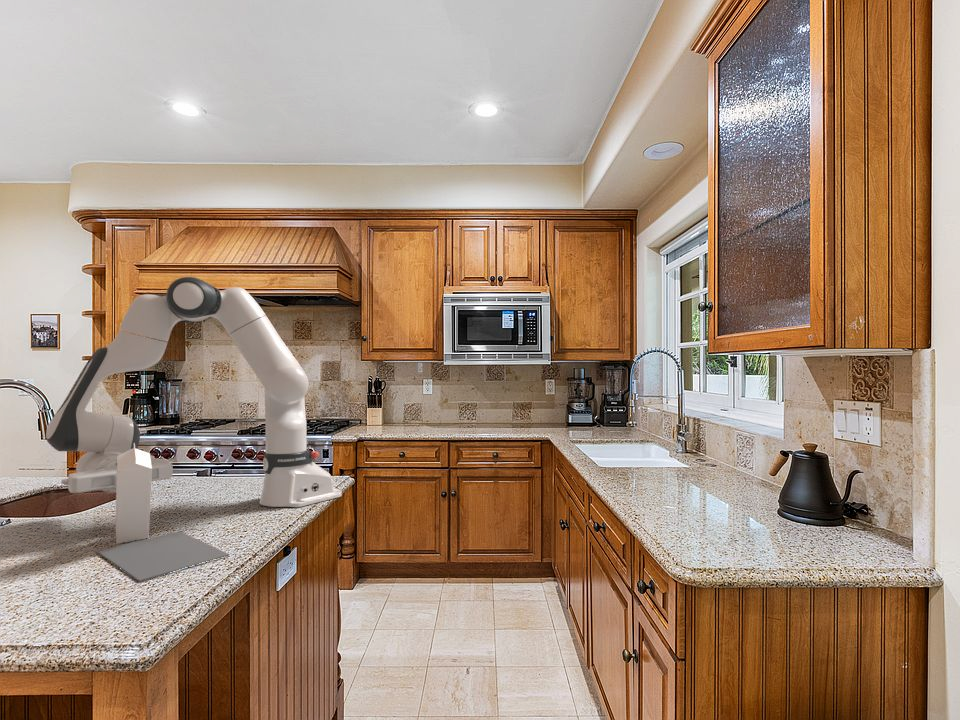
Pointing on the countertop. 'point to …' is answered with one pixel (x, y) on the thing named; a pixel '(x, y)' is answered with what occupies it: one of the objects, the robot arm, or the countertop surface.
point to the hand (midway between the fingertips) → (134, 480)
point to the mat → (160, 555)
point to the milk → (133, 495)
